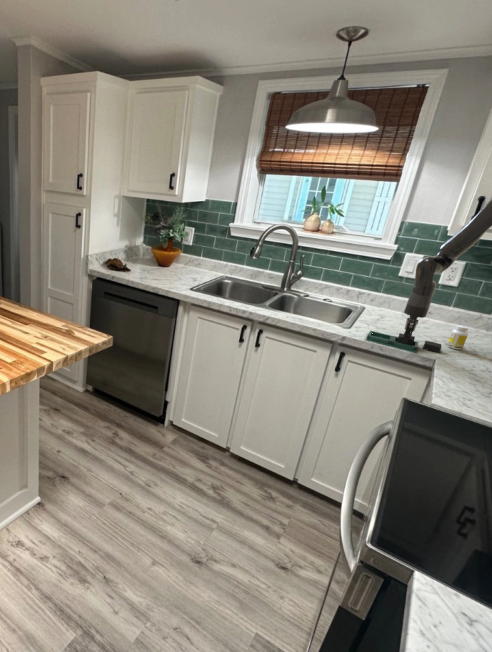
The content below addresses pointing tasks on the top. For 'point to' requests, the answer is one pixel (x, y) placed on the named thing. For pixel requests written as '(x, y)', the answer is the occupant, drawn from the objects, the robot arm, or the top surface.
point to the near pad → (402, 339)
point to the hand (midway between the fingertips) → (404, 341)
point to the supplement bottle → (458, 337)
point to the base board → (390, 341)
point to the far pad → (432, 346)
